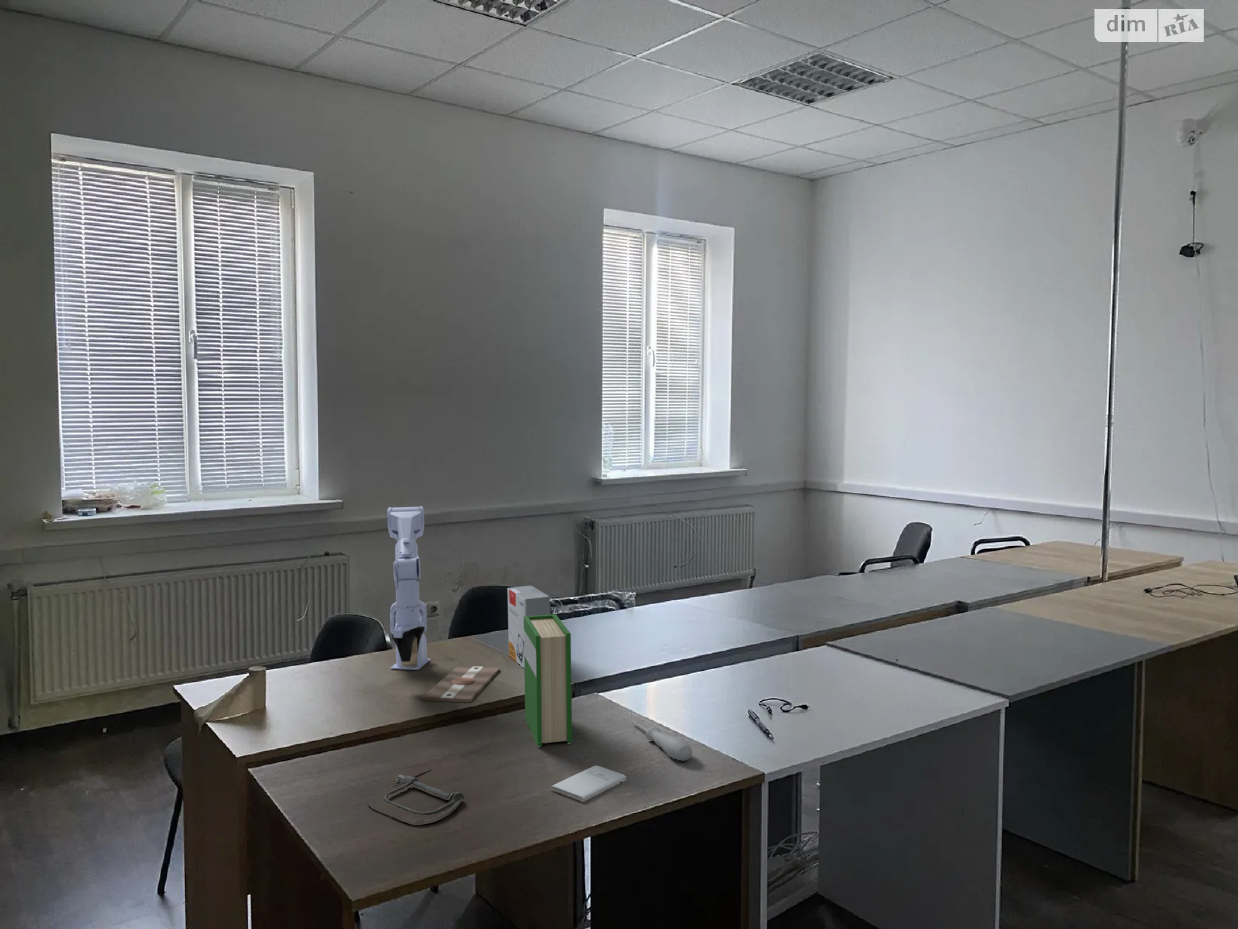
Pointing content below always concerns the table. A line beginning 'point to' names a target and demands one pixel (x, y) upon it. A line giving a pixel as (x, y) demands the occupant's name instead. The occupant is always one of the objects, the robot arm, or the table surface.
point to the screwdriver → (668, 743)
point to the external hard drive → (589, 782)
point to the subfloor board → (461, 684)
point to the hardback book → (547, 679)
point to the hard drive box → (521, 605)
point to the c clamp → (453, 798)
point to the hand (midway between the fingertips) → (409, 658)
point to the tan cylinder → (413, 661)
